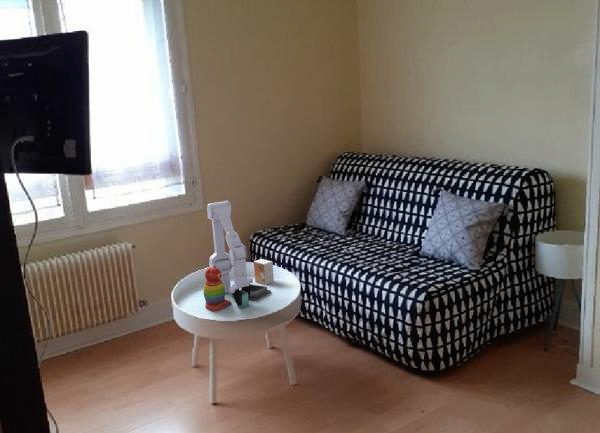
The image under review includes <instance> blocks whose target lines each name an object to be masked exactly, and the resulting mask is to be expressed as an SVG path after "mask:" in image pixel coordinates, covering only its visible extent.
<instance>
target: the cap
mask: <svg viewBox="0 0 600 433" xmlns="http://www.w3.org/2000/svg"><path fill="white" fill-rule="evenodd" d="M249 306H250V300H249V301H248V292H246V291H243V293H242V305H241V306H237V305H236V307H237V308H238V309H247V308H249Z"/></svg>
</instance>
